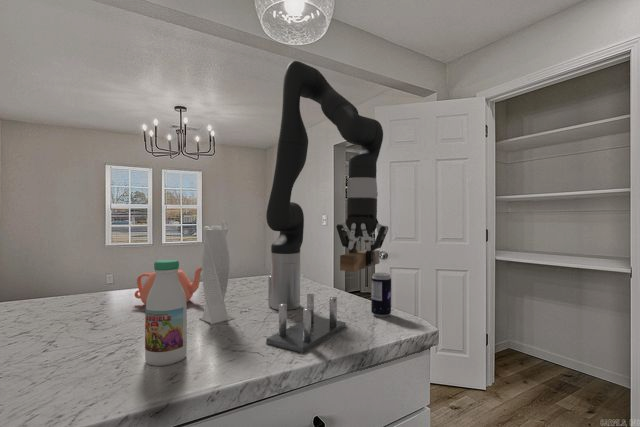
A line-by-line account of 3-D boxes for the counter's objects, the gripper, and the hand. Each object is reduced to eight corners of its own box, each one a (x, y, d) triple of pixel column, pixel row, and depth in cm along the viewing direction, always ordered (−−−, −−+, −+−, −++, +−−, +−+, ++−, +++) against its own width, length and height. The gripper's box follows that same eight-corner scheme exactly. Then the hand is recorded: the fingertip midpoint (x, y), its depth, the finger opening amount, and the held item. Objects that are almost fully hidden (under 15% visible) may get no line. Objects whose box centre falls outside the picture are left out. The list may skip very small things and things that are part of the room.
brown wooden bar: (353, 271, 79) (353, 256, 79) (340, 270, 81) (340, 255, 81) (379, 263, 92) (379, 250, 92) (367, 262, 94) (367, 249, 94)
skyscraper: (237, 321, 95) (238, 220, 95) (210, 328, 89) (211, 220, 89) (221, 314, 101) (221, 219, 101) (195, 320, 95) (195, 220, 95)
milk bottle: (154, 351, 73) (154, 258, 73) (191, 350, 74) (191, 257, 74) (138, 367, 66) (138, 263, 66) (179, 366, 66) (180, 263, 66)
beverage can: (391, 318, 97) (391, 276, 97) (370, 317, 98) (371, 275, 98) (390, 312, 103) (391, 272, 103) (371, 311, 104) (372, 272, 104)
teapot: (209, 296, 122) (209, 261, 122) (201, 308, 106) (202, 268, 106) (142, 298, 118) (142, 262, 118) (125, 311, 103) (125, 270, 103)
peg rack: (266, 343, 78) (266, 307, 78) (313, 320, 95) (313, 290, 95) (302, 353, 73) (302, 314, 73) (345, 326, 90) (345, 295, 90)
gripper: (330, 196, 87) (329, 264, 87) (383, 195, 79) (382, 269, 80) (344, 197, 93) (343, 260, 93) (394, 197, 86) (393, 265, 86)
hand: (361, 264), depth 86 cm, fingers closed on brown wooden bar, 3 cm apart
